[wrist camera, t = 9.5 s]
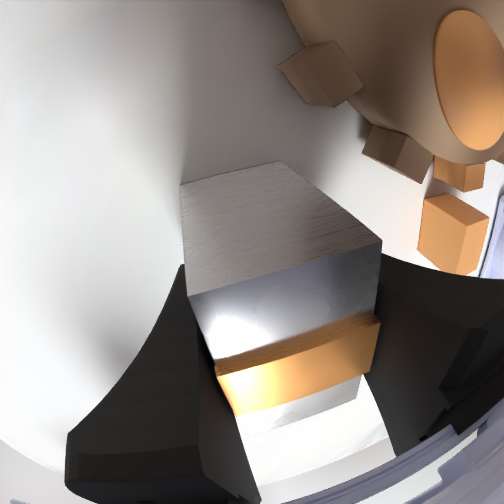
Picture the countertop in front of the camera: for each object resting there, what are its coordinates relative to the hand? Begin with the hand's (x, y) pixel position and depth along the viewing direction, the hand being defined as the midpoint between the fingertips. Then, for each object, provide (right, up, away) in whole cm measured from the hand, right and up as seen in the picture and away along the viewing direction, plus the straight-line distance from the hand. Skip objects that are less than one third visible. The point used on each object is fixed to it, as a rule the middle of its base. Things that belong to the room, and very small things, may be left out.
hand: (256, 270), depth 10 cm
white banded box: (0, +1, +1) cm, 2 cm away
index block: (+9, +2, +3) cm, 10 cm away
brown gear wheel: (+8, +12, -3) cm, 14 cm away
